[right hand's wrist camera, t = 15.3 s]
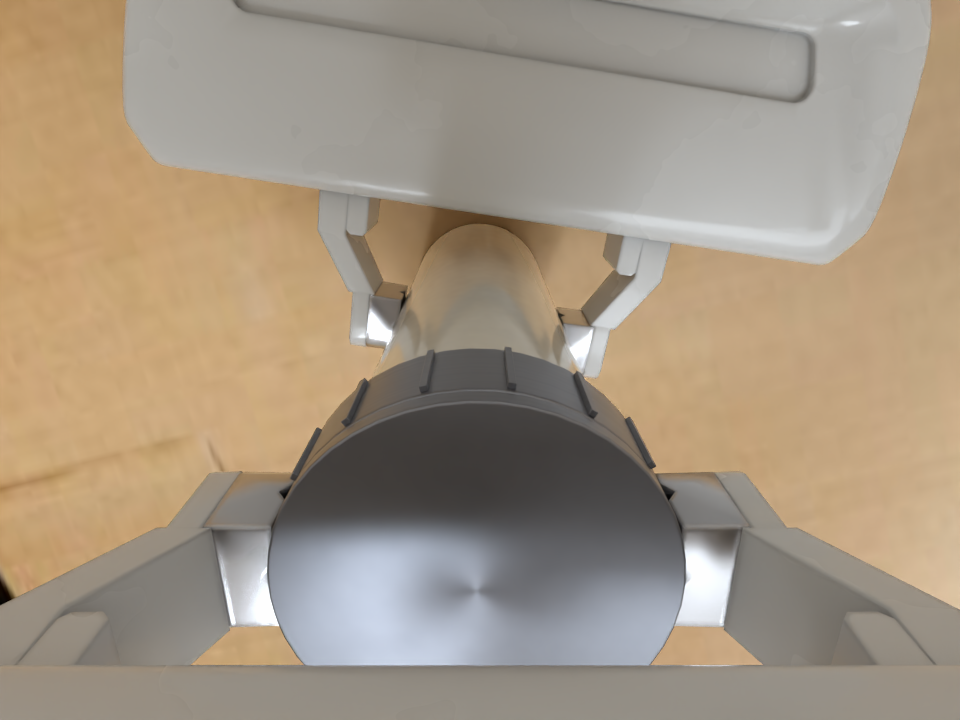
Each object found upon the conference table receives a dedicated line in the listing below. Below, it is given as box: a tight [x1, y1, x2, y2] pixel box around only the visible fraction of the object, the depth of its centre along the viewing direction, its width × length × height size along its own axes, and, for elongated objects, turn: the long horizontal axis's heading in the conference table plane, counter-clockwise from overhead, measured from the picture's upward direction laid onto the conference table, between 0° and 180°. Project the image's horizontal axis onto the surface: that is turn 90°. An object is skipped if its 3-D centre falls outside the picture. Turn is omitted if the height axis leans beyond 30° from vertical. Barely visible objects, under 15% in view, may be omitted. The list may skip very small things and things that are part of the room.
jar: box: [372, 224, 582, 378], centre depth 17 cm, size 5×5×17 cm
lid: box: [267, 347, 686, 665], centre depth 9 cm, size 6×6×2 cm
